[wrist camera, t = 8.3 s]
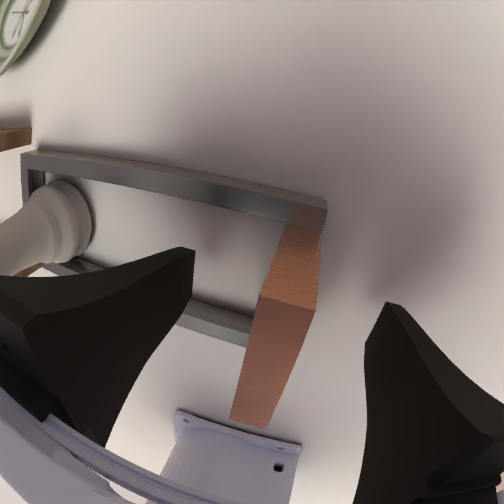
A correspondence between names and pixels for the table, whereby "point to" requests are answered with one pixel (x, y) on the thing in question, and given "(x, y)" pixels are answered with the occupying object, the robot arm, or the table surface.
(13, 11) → the saucer
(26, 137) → the walnut lane
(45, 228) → the rook chess piece
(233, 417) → the frame
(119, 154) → the table surface
